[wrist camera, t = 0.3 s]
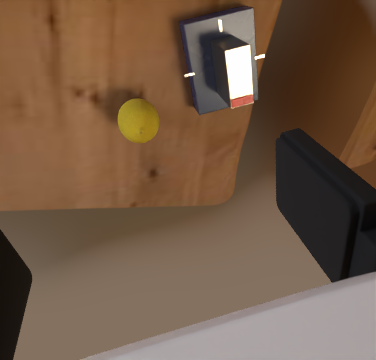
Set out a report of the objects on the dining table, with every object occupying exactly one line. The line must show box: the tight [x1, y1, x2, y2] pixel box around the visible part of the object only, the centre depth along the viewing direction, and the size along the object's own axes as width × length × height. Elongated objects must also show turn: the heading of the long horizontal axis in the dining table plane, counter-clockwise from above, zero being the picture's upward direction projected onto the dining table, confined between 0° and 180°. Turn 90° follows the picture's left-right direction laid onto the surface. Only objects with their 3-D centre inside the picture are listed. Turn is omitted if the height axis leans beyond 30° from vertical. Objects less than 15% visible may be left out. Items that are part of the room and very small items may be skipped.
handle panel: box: [179, 6, 265, 115], centre depth 43 cm, size 12×11×3 cm
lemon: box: [118, 98, 159, 143], centre depth 42 cm, size 6×6×8 cm
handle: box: [210, 35, 254, 109], centre depth 39 cm, size 7×3×6 cm, turn 11°
